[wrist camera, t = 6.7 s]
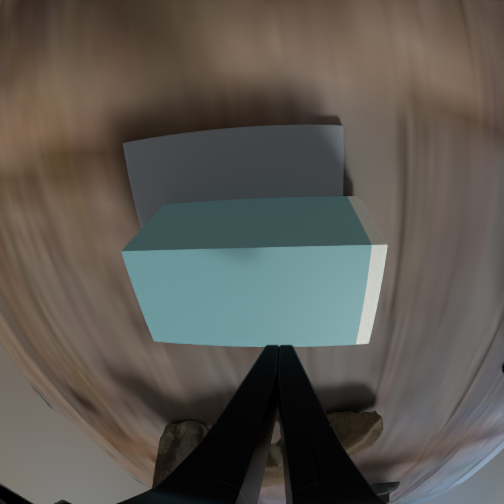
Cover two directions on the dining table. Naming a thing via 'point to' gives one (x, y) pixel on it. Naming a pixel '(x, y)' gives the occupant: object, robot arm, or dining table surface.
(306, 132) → the felt mat
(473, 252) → the dining table surface
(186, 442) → the sculpture
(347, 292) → the teal block
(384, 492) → the toy robot
